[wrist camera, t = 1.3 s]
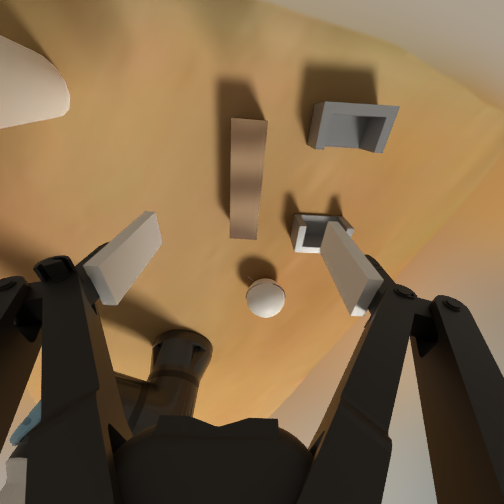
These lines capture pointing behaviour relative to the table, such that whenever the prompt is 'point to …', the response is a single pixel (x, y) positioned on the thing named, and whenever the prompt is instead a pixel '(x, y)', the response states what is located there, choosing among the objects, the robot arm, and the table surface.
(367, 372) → the robot arm
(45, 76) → the foam cup
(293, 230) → the cap
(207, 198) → the table surface
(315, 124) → the cap
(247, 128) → the slat
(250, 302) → the ball
